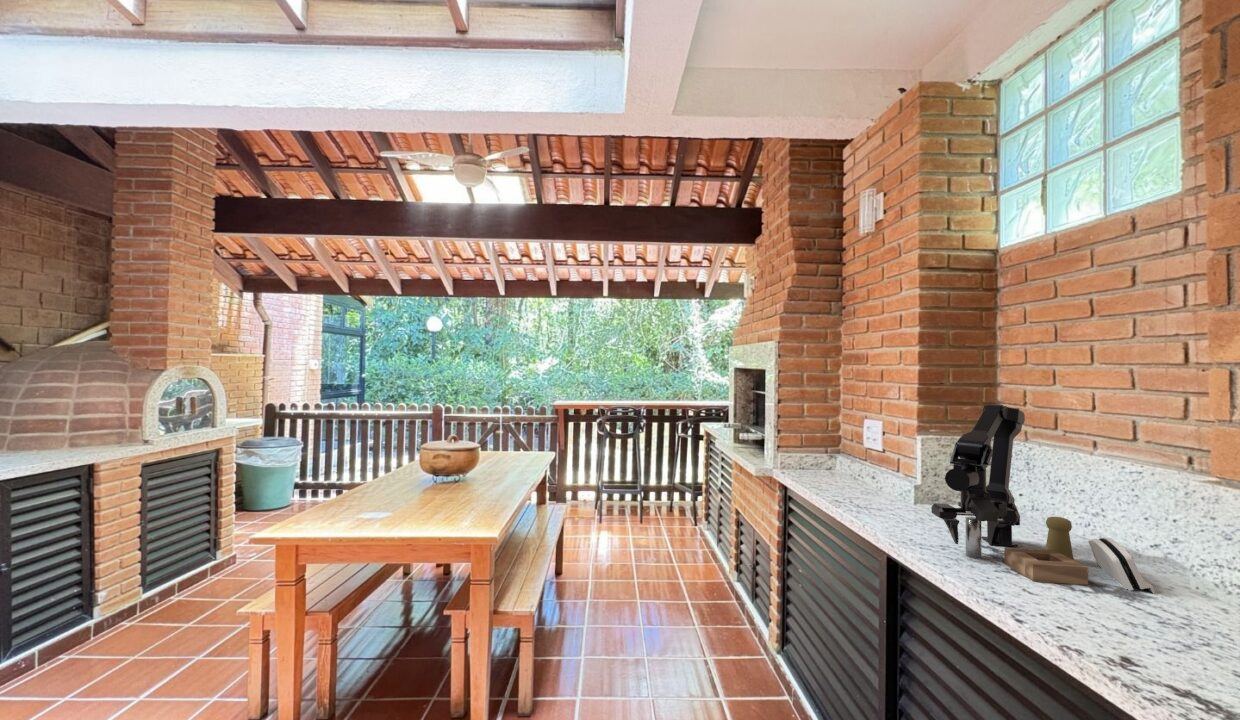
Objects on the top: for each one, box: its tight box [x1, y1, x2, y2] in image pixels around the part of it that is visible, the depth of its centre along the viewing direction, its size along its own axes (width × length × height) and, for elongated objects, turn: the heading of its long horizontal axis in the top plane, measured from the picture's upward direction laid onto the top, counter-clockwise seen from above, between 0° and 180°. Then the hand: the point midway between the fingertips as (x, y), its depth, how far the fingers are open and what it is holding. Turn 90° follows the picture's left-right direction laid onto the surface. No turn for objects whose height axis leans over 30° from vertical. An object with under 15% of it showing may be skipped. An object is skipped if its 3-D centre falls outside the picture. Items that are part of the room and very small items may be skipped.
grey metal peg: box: [965, 516, 983, 560], centre depth 138 cm, size 4×4×10 cm
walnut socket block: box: [1003, 547, 1089, 586], centre depth 127 cm, size 12×12×4 cm
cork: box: [1044, 516, 1075, 561], centre depth 136 cm, size 6×6×11 cm
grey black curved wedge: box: [1088, 537, 1157, 594], centre depth 124 cm, size 17×5×10 cm, turn 154°
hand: (973, 544), depth 138 cm, fingers open, 8 cm apart
